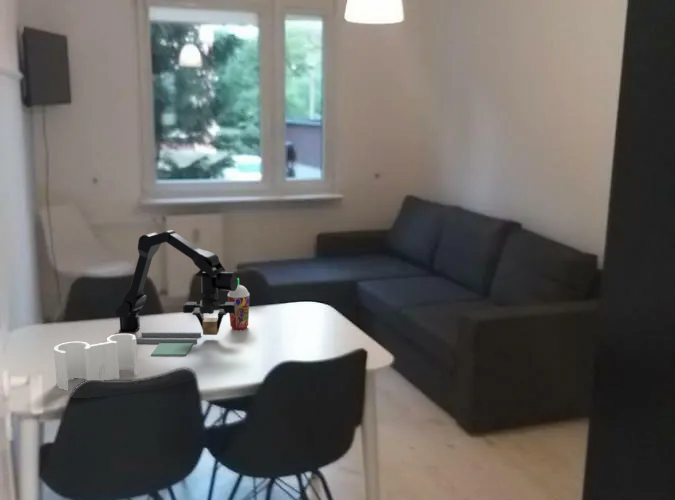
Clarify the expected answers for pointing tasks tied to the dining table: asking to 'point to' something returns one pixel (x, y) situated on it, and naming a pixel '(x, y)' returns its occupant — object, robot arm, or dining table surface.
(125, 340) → the bracket
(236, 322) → the smoothie
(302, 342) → the dining table surface
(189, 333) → the channel
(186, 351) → the mat
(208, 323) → the tan block
